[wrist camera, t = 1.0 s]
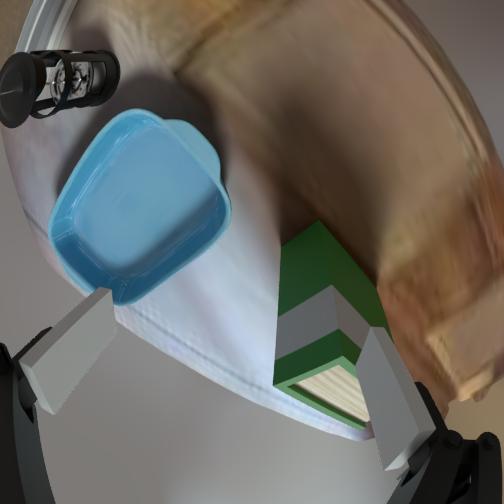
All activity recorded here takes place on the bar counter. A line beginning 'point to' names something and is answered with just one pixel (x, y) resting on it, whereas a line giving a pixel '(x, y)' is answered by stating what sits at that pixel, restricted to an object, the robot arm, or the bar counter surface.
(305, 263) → the hardback book
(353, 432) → the bar counter surface
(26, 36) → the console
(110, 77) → the french press
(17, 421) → the robot arm
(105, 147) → the casserole dish
